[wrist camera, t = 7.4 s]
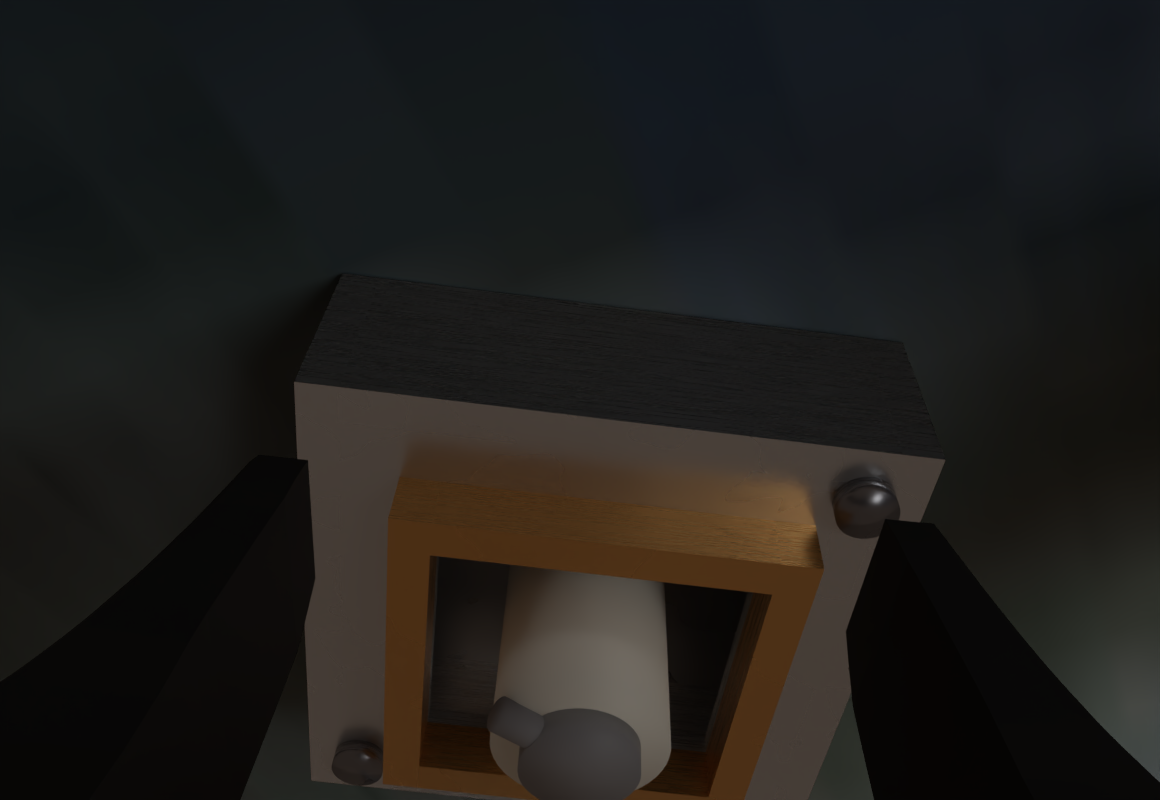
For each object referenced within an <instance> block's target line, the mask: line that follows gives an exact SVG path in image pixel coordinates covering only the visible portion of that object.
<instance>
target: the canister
mask: <svg viewBox="0 0 1160 800" xmlns="http://www.w3.org/2000/svg"><path fill="white" fill-rule="evenodd" d="M487 729H488V731H490V749H491V753H492V756H493V758H494V760H495V761H496V763H497V765H498V766H499V767H500V768H501V770H502V771H503V772H504V773H505V774H506V775H508V776H509V777H510V778H511V779H513V780H514V781H516V782H517V783H519V784H521V785H522V786H524V788H525V789H526V790H527V791H528V792H529V793H531V794H532V795H533V796H535V797H536V798H538V799H540V800H623V799H625V798H626V797H628V796H629V795H630V794H631V793H632V792H633V791H634V790H637V789H639V788H641V787H643V786H644V785H646V784H648V783H649V782H651V781H652V780H653V779H654V778H656V777H657V776H658V775H659V774H660V773H661V771H662V770H663V769H664V767H665V766H666V764H667V762H668V760H669V757H670V753H671V729H670V705H669V681H668V657H667V633H666V610H665V586H664V582H658V581H649V580H640V579H632V578H623V577H614V576H606V575H597V574H588V573H579V572H571V571H562V570H553V569H545V568H536V567H527V566H518V565H510V568H509V577H508V585H507V594H506V603H505V611H504V620H503V628H502V637H501V645H500V654H499V663H498V671H497V680H496V688H495V697H494V705H493V707H492V708H491V710H490V713H489V715H488V718H487Z"/></svg>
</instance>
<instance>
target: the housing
mask: <svg viewBox="0 0 1160 800" xmlns="http://www.w3.org/2000/svg"><path fill="white" fill-rule="evenodd" d="M294 392H295V415H296V438H297V459H303V460H308V468H309V483H310V499H311V515H312V531H313V547H314V563H315V583H314V587H313V591H312V595H311V599H310V603H309V608H308V612H307V616H306V620H305V645H306V668H307V691H308V714H309V737H310V760H311V781H320V782H329V783H339V784H348V785H357V786H367V787H376V788H385V789H395V790H404V791H413V792H423V793H432V794H441V795H451V796H460V797H469V798H479V799H488V800H540V799H538V798H536V797H535V796H533V795H532V794H531V793H529V792H528V791H527V790H526V789H525V788H524V786H522V785H521V784H519V783H517V782H516V781H514V780H513V779H511V778H510V777H509V776H508V775H506V774H505V773H504V772H503V771H502V770H501V768H500V767H499V766H498V765H497V763H496V761H495V760H494V758H493V756H492V753H491V749H490V731H488V729H487V718H488V715H489V713H490V710H491V708H492V707H493V705H494V697H495V688H496V680H497V671H498V663H499V654H500V645H501V637H502V628H503V620H504V611H505V603H506V594H507V585H508V577H509V568H510V565H518V566H527V567H536V568H545V569H553V570H562V571H571V572H579V573H588V574H597V575H606V576H614V577H623V578H632V579H640V580H649V581H658V582H664V586H665V610H666V633H667V657H668V681H669V705H670V729H671V753H670V757H669V760H668V762H667V764H666V766H665V767H664V769H663V770H662V771H661V773H660V774H659V775H658V776H657V777H656V778H654V779H653V780H652V781H651V782H649V783H648V784H646V785H644V786H643V787H641V788H639V789H637V790H634V791H633V792H632V793H631V794H630V795H629V796H628V797H626V798H625V799H623V800H808V798H809V795H810V793H811V790H812V788H813V785H814V783H815V781H816V778H817V776H818V773H819V771H820V768H821V766H822V763H823V761H824V758H825V756H826V753H827V751H828V748H829V746H830V744H831V741H832V739H833V736H834V734H835V731H836V729H837V726H838V724H839V721H840V719H841V716H842V714H843V712H844V709H845V707H846V704H847V702H848V699H849V697H850V694H851V684H850V674H849V663H848V652H847V640H846V629H847V626H848V624H849V621H850V618H851V615H852V612H853V609H854V606H855V604H856V601H857V598H858V595H859V592H860V589H861V586H862V584H863V581H864V578H865V575H866V572H867V569H868V567H869V564H870V561H871V558H872V555H873V552H874V549H875V547H876V544H877V541H878V538H879V535H880V532H881V529H882V527H883V524H884V521H885V519H891V520H901V521H911V522H921V519H922V517H923V514H924V512H925V509H926V507H927V504H928V502H929V500H930V497H931V495H932V492H933V490H934V487H935V485H936V482H937V480H938V477H939V475H940V472H941V470H942V467H943V465H944V463H945V457H944V454H943V452H942V449H941V446H940V443H939V441H938V438H937V435H936V432H935V430H934V427H933V424H932V422H931V419H930V416H929V413H928V411H927V408H926V405H925V403H924V400H923V397H922V394H921V392H920V389H919V386H918V383H917V381H916V378H915V375H914V373H913V370H912V367H911V364H910V362H909V359H908V356H907V354H906V351H905V348H904V345H903V343H901V342H893V341H885V340H876V339H868V338H860V337H852V336H844V335H836V334H828V333H820V332H812V331H804V330H796V329H787V328H779V327H771V326H763V325H755V324H747V323H739V322H731V321H723V320H715V319H707V318H699V317H690V316H682V315H674V314H666V313H658V312H650V311H642V310H634V309H626V308H618V307H610V306H602V305H593V304H585V303H577V302H569V301H561V300H553V299H545V298H537V297H529V296H521V295H513V294H504V293H496V292H488V291H480V290H472V289H464V288H456V287H448V286H440V285H432V284H424V283H416V282H407V281H399V280H391V279H383V278H375V277H367V276H359V275H351V274H343V273H342V275H341V278H340V280H339V282H338V284H337V287H336V289H335V291H334V293H333V296H332V298H331V300H330V302H329V305H328V307H327V309H326V311H325V314H324V316H323V318H322V320H321V322H320V325H319V327H318V329H317V331H316V334H315V336H314V338H313V340H312V343H311V345H310V347H309V349H308V352H307V354H306V356H305V358H304V361H303V363H302V365H301V367H300V370H299V372H298V374H297V376H296V378H295V381H294Z"/></svg>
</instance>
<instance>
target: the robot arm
mask: <svg viewBox="0 0 1160 800" xmlns="http://www.w3.org/2000/svg"><path fill="white" fill-rule="evenodd" d="M314 583H315V563H314V547H313V531H312V515H311V499H310V483H309V468H308V460H303V459H293V458H283V457H273V456H264V455H258V456H257V457H256V458H254V459H253V460H251V461H250V462H249V463H248V464H247V465H246V466H245V468H244V469H243V470H242V471H241V472H240V473H239V474H238V475H237V476H236V477H235V478H234V479H233V480H232V481H231V482H230V483H229V485H228V486H227V487H226V488H225V489H224V490H223V491H222V492H221V493H220V494H219V495H218V496H217V497H216V498H215V499H214V500H213V501H212V502H211V503H210V504H209V505H208V506H207V507H206V508H205V509H204V511H203V512H202V513H201V514H200V515H199V516H198V517H197V518H196V519H195V520H194V521H193V522H192V523H191V524H190V525H189V526H188V527H187V528H186V529H185V530H184V531H183V532H181V533H180V534H179V535H178V536H177V537H176V538H175V539H174V540H173V541H172V542H171V543H170V544H169V545H168V546H167V547H166V548H165V549H164V550H163V551H162V552H161V553H160V554H158V555H157V556H156V557H155V558H154V559H153V560H152V561H151V562H150V563H149V564H148V565H147V566H146V567H145V568H144V569H143V570H141V571H140V572H139V573H138V574H137V575H136V576H135V577H134V578H132V579H131V580H130V581H129V582H128V583H127V584H126V585H124V586H123V587H122V588H121V589H120V590H119V591H117V592H116V593H115V594H114V595H113V596H112V597H110V598H109V599H108V600H107V601H106V602H105V603H103V604H102V605H101V606H100V607H99V608H98V609H97V610H95V611H94V612H93V613H92V614H91V615H90V616H88V617H87V618H86V619H85V620H83V621H82V622H81V623H80V624H78V625H77V626H76V627H75V628H73V629H72V630H71V631H70V632H68V633H67V634H66V635H65V636H63V637H62V638H61V639H59V640H58V641H57V642H55V643H54V644H53V645H51V646H50V647H49V648H47V649H46V650H45V651H43V652H42V653H41V654H39V655H38V656H37V657H35V658H34V659H32V660H31V661H30V662H28V663H27V664H26V665H24V666H23V667H22V668H20V669H19V670H17V671H16V672H14V673H13V674H12V675H10V676H9V677H7V678H6V679H4V680H3V681H1V682H0V800H240V799H241V797H242V794H243V791H244V789H245V786H246V784H247V781H248V779H249V776H250V773H251V771H252V768H253V766H254V763H255V760H256V758H257V755H258V753H259V750H260V748H261V745H262V742H263V740H264V737H265V735H266V732H267V730H268V727H269V724H270V722H271V719H272V717H273V714H274V712H275V709H276V706H277V704H278V701H279V699H280V696H281V693H282V691H283V688H284V685H285V683H286V680H287V678H288V675H289V672H290V670H291V667H292V664H293V662H294V659H295V656H296V654H297V651H298V647H299V643H300V639H301V635H302V631H303V628H304V624H305V620H306V616H307V612H308V608H309V603H310V599H311V595H312V591H313V587H314ZM846 640H847V652H848V663H849V674H850V684H851V693H852V702H853V708H854V713H855V718H856V722H857V727H858V731H859V736H860V740H861V745H862V749H863V753H864V758H865V762H866V767H867V771H868V775H869V779H870V784H871V788H872V792H873V796H874V800H1160V782H1159V781H1158V780H1157V779H1155V778H1154V777H1153V776H1152V775H1151V774H1150V773H1149V772H1148V771H1147V770H1146V769H1145V768H1144V767H1143V766H1142V765H1141V764H1140V763H1139V762H1138V761H1137V760H1135V759H1134V758H1133V757H1132V756H1131V755H1130V754H1129V753H1128V752H1127V751H1126V750H1125V749H1124V748H1123V747H1122V746H1121V745H1120V744H1119V743H1118V742H1117V741H1116V740H1115V739H1114V738H1113V737H1112V736H1111V735H1110V734H1109V733H1108V732H1107V731H1106V730H1105V729H1104V728H1103V727H1102V726H1101V725H1100V724H1099V723H1098V722H1097V721H1096V720H1095V719H1094V718H1093V717H1092V715H1091V714H1090V713H1089V712H1088V711H1087V710H1086V709H1085V708H1084V707H1083V706H1082V705H1081V704H1080V702H1079V701H1078V700H1077V699H1076V698H1075V697H1074V696H1073V695H1072V694H1071V693H1070V692H1069V691H1068V689H1067V688H1066V687H1065V686H1064V685H1063V684H1062V683H1061V682H1060V681H1059V680H1058V678H1057V677H1056V676H1055V675H1054V674H1053V673H1052V671H1051V670H1050V669H1049V668H1048V667H1047V666H1046V665H1045V663H1044V662H1043V661H1042V660H1041V659H1040V658H1039V656H1038V655H1037V654H1036V653H1035V652H1034V651H1033V649H1032V648H1031V647H1030V646H1029V645H1028V643H1027V642H1026V641H1025V640H1024V638H1023V637H1022V636H1021V635H1020V634H1019V632H1018V631H1017V630H1016V629H1015V628H1014V626H1013V625H1012V624H1011V623H1010V621H1009V620H1008V619H1007V618H1006V616H1005V615H1004V614H1003V613H1002V611H1001V610H1000V609H999V608H998V606H997V605H996V604H995V603H994V601H993V600H992V599H991V597H990V596H989V595H988V594H987V592H986V591H985V590H984V588H983V587H982V586H981V585H980V583H979V582H978V581H977V579H976V578H975V577H974V575H973V574H972V573H971V572H970V570H969V569H968V568H967V566H966V565H965V564H964V562H963V561H962V560H961V558H960V557H959V556H958V555H957V553H956V552H955V551H954V549H953V548H952V547H951V545H950V544H949V543H948V542H947V540H946V539H945V538H944V536H943V535H942V534H941V533H940V531H939V530H938V529H937V527H936V526H935V525H934V524H931V523H921V522H911V521H901V520H891V519H885V521H884V524H883V527H882V529H881V532H880V535H879V538H878V541H877V544H876V547H875V549H874V552H873V555H872V558H871V561H870V564H869V567H868V569H867V572H866V575H865V578H864V581H863V584H862V586H861V589H860V592H859V595H858V598H857V601H856V604H855V606H854V609H853V612H852V615H851V618H850V621H849V624H848V626H847V629H846Z"/></svg>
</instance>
